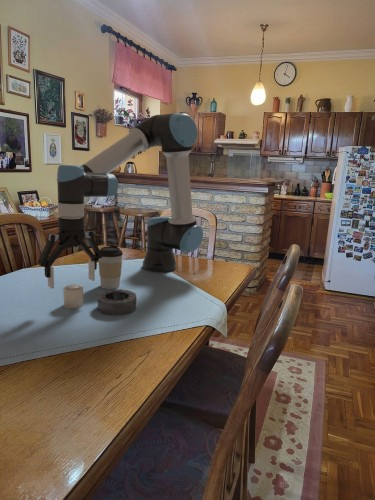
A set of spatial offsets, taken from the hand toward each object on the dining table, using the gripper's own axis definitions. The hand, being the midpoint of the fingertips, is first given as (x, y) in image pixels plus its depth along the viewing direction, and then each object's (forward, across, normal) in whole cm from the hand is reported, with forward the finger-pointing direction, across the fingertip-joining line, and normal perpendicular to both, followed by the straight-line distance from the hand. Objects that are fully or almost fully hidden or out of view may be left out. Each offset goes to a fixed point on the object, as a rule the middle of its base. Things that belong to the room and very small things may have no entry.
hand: (72, 283), depth 113 cm
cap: (+8, 0, 0) cm, 8 cm away
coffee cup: (+7, -20, -9) cm, 23 cm away
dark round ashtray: (+7, -10, +10) cm, 16 cm away
